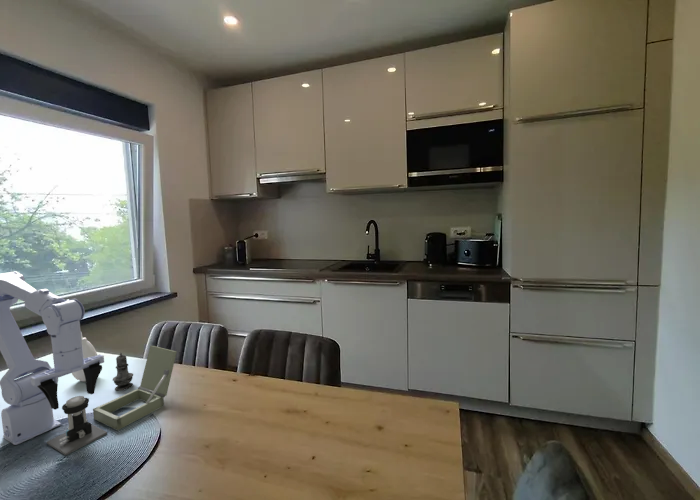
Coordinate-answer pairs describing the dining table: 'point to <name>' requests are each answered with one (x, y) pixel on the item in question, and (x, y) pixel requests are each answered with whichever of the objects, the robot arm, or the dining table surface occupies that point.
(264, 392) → the dining table surface
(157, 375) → the equipment case
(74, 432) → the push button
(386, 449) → the dining table surface
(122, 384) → the grey tall tiered piece
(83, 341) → the sauce bottle
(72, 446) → the mat
